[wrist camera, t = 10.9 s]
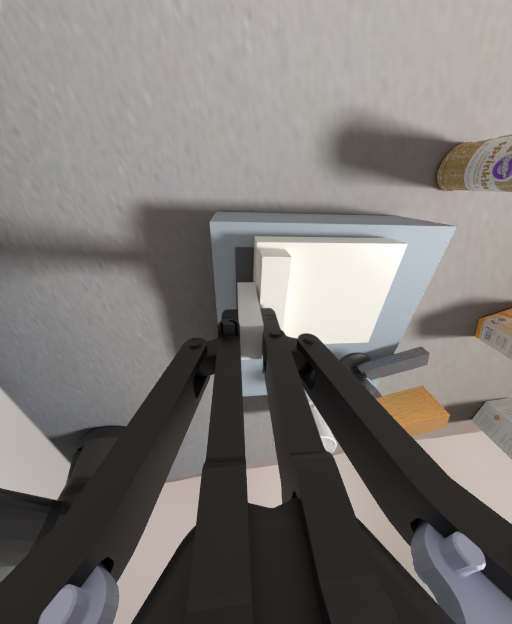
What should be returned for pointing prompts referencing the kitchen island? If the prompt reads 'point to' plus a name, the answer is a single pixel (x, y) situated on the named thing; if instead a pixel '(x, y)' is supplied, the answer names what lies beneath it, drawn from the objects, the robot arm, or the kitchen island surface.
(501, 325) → the supplement box
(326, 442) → the white cup
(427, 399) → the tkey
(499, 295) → the kitchen island surface
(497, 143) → the sprinkles bottle
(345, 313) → the cover
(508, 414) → the small box
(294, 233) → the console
